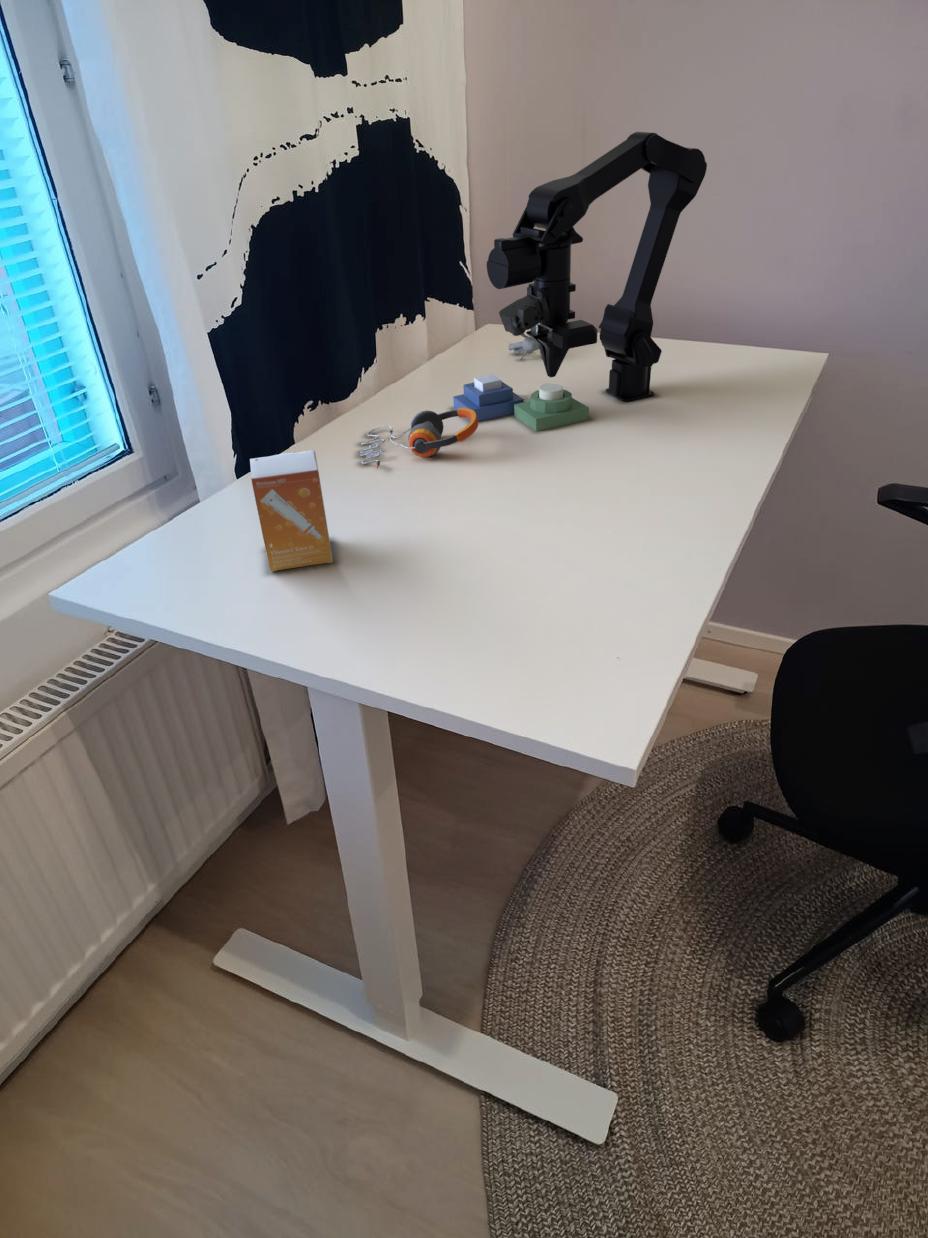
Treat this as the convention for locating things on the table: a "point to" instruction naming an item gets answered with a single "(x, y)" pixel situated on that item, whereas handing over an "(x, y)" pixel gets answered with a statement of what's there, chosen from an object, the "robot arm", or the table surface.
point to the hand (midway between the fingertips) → (551, 376)
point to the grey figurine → (524, 346)
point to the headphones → (427, 433)
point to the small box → (291, 510)
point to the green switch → (550, 411)
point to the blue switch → (488, 401)
